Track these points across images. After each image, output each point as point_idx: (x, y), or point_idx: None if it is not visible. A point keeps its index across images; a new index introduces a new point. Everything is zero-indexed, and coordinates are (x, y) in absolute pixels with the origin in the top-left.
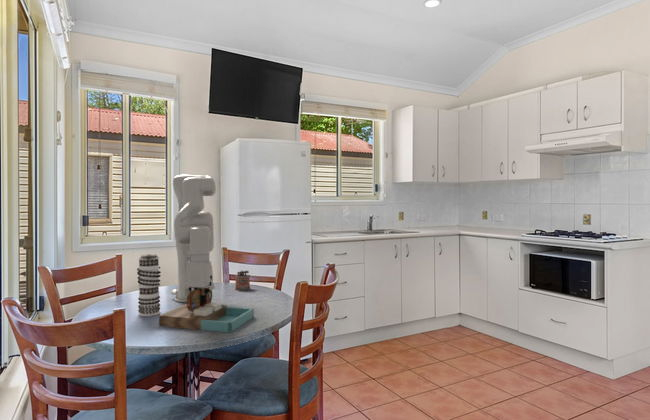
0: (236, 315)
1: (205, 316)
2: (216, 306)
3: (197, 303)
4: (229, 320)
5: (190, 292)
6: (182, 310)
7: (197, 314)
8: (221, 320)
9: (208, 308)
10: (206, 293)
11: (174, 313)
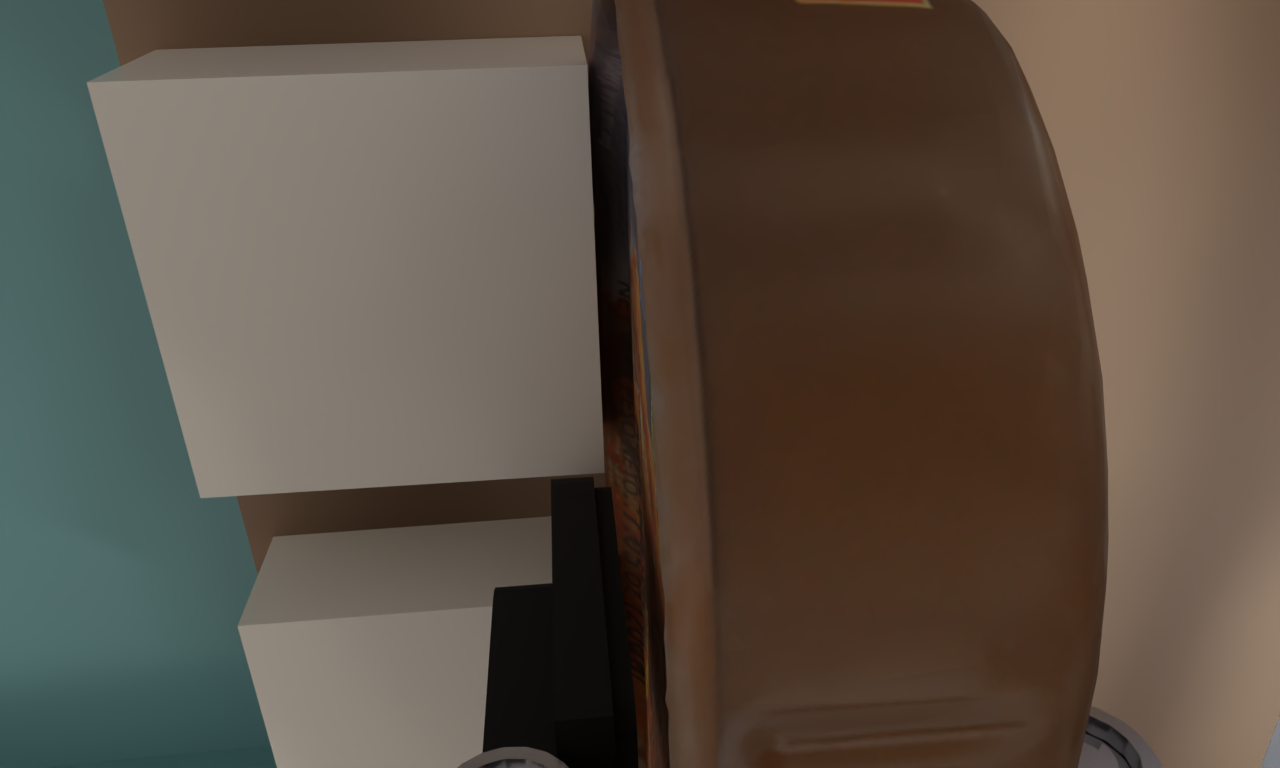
0: (142, 760)
1: (121, 8)
2: (259, 666)
3: (644, 400)
4: (24, 498)
5: (1041, 450)
6: (1139, 337)
7: (447, 43)
8: (184, 449)
9: (233, 375)
10: None
11: (1246, 1)
